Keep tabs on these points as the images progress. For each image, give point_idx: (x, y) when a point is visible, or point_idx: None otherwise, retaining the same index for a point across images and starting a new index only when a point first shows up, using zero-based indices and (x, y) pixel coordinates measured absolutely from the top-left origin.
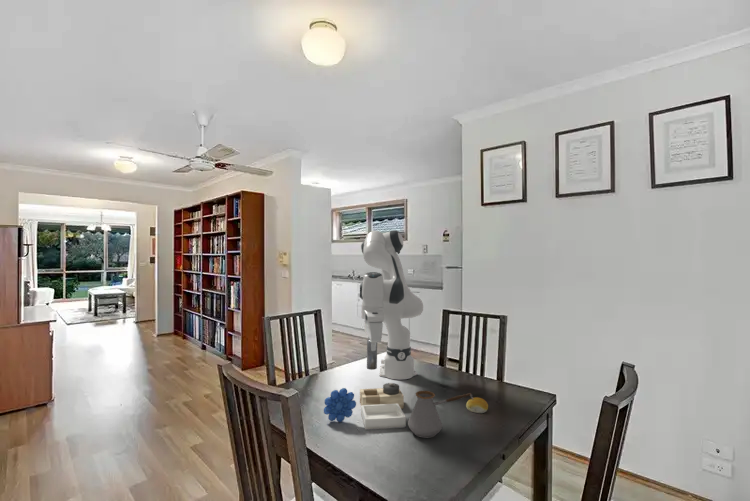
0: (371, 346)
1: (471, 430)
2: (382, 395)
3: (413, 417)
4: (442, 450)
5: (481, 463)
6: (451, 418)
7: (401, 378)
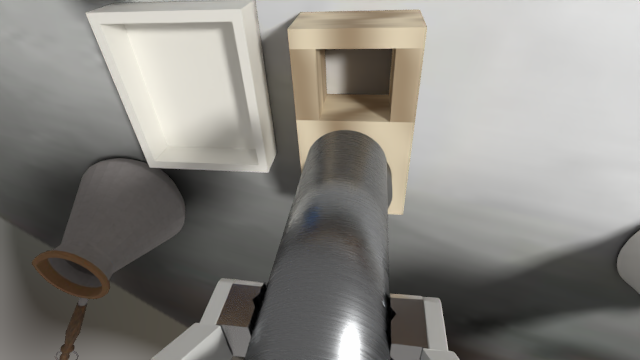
0: (202, 322)
1: (181, 275)
2: (311, 133)
3: (87, 189)
4: (65, 195)
5: (42, 239)
6: (242, 265)
7: (628, 248)
